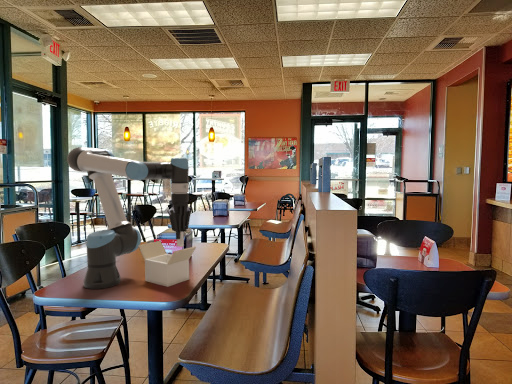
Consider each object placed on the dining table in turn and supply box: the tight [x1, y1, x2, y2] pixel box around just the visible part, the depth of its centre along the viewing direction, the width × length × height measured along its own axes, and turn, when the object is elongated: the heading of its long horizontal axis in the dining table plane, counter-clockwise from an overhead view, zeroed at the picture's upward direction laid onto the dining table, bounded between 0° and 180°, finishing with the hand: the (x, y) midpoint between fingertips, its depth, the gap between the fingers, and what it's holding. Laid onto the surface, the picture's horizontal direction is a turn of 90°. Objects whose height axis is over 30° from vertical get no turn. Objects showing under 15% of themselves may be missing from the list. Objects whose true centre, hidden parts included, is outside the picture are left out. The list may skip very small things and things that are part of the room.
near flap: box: [167, 245, 197, 265], centre depth 157 cm, size 13×8×1 cm
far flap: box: [138, 241, 168, 261], centre depth 169 cm, size 13×8×1 cm
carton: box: [144, 253, 190, 288], centre depth 163 cm, size 13×15×10 cm
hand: (180, 246), depth 157 cm, fingers closed
